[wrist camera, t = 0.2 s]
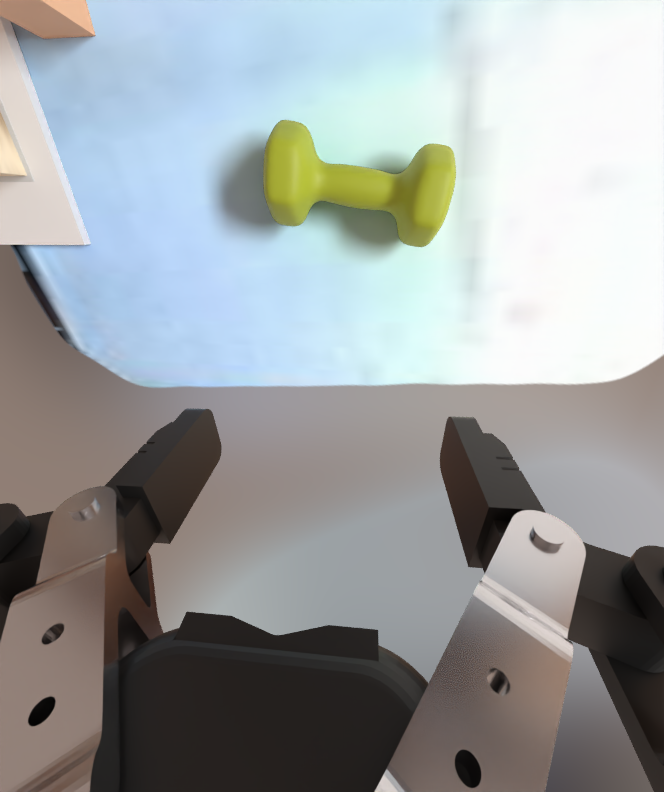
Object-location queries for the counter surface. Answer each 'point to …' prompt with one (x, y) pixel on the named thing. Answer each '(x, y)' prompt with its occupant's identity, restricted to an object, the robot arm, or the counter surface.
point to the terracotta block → (50, 17)
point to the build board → (32, 163)
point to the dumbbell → (357, 184)
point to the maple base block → (9, 154)
